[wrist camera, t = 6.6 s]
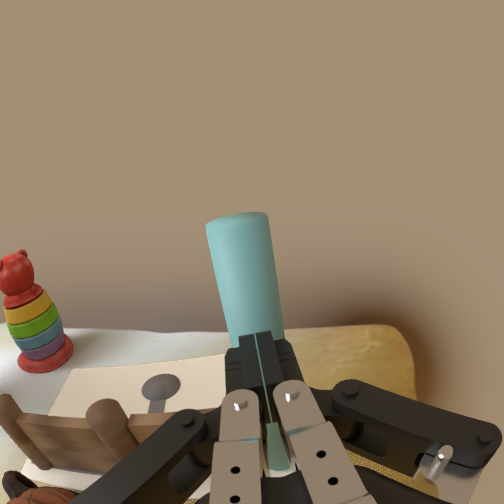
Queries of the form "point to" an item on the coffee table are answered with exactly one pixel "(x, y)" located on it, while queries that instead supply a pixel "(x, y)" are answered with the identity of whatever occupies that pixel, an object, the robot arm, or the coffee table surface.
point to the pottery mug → (33, 491)
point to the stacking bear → (32, 317)
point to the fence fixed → (71, 436)
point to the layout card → (137, 403)
